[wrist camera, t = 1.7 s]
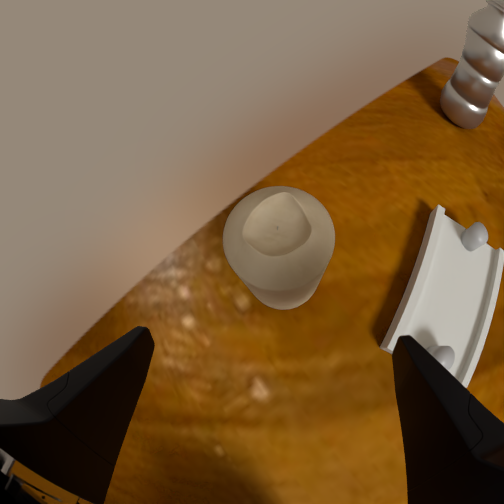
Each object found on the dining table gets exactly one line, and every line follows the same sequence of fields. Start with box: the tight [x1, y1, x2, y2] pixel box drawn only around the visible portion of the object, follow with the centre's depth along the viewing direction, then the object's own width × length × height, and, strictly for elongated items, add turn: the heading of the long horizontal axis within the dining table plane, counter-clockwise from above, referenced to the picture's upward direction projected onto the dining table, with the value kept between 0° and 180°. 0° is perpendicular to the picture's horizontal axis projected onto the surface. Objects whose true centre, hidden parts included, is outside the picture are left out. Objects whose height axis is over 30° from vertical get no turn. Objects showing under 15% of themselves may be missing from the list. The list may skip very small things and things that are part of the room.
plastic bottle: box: [440, 0, 504, 129], centre depth 14 cm, size 6×7×20 cm
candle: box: [223, 186, 335, 309], centre depth 16 cm, size 6×6×10 cm
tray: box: [380, 205, 504, 388], centre depth 17 cm, size 13×9×3 cm
